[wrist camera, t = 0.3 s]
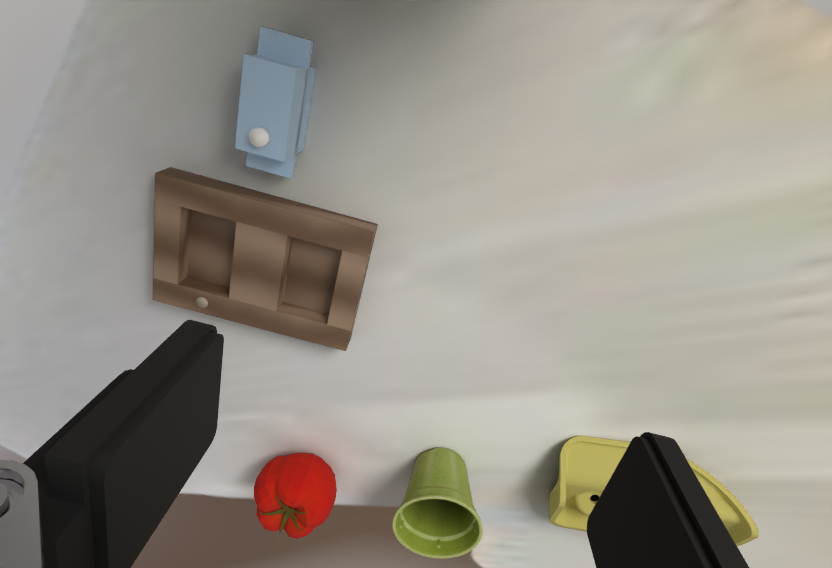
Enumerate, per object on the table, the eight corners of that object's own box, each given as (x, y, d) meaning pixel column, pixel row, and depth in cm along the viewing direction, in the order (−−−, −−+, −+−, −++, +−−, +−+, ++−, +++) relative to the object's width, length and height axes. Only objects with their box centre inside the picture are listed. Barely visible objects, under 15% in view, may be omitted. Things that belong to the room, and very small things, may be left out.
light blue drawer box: (272, 28, 40) (241, 23, 34) (320, 42, 40) (297, 39, 34) (258, 159, 44) (228, 174, 39) (300, 171, 44) (277, 188, 39)
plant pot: (466, 501, 60) (467, 568, 52) (393, 483, 60) (383, 546, 52) (490, 447, 56) (495, 510, 48) (412, 427, 56) (404, 487, 48)
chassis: (170, 167, 45) (154, 173, 43) (377, 224, 46) (373, 233, 43) (166, 289, 51) (152, 300, 48) (350, 338, 51) (345, 351, 49)
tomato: (354, 469, 60) (341, 522, 53) (313, 504, 63) (295, 558, 56) (293, 427, 57) (271, 476, 51) (253, 466, 61) (227, 517, 54)
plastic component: (545, 524, 58) (562, 501, 50) (545, 463, 62) (560, 432, 55) (722, 553, 55) (768, 533, 48) (708, 486, 60) (748, 458, 52)
